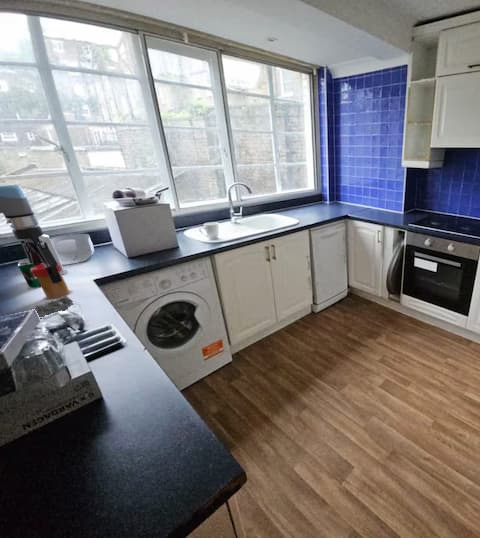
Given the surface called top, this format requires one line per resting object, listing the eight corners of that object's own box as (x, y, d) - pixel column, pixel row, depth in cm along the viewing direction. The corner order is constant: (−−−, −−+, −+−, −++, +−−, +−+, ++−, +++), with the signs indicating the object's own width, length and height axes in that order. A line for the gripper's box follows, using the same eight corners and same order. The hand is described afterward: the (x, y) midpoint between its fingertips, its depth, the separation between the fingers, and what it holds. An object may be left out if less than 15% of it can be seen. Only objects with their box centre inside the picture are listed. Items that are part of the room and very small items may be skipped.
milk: (49, 277, 141) (27, 233, 132) (48, 274, 145) (26, 231, 136) (66, 273, 145) (46, 230, 137) (64, 270, 149) (45, 228, 140)
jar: (45, 300, 119) (31, 272, 114) (48, 294, 124) (35, 267, 120) (68, 295, 123) (56, 268, 118) (70, 289, 128) (58, 263, 123)
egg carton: (38, 321, 105) (32, 311, 104) (33, 315, 109) (28, 305, 108) (76, 308, 113) (72, 298, 112) (70, 302, 117) (66, 293, 115)
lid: (66, 270, 122) (63, 263, 121) (39, 278, 115) (36, 271, 114) (55, 267, 125) (52, 261, 124) (29, 275, 118) (25, 268, 117)
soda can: (45, 282, 136) (33, 258, 131) (45, 285, 133) (33, 261, 128) (29, 286, 133) (17, 261, 128) (29, 289, 129) (16, 264, 125)
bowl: (100, 250, 177) (93, 232, 172) (94, 260, 162) (86, 239, 157) (56, 257, 168) (47, 237, 163) (45, 268, 152) (34, 246, 148)
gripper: (-2, 227, 113) (26, 280, 122) (26, 232, 105) (54, 288, 114) (24, 222, 119) (49, 273, 128) (53, 226, 112) (77, 280, 121)
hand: (51, 280), depth 121 cm, fingers closed on lid, 8 cm apart
